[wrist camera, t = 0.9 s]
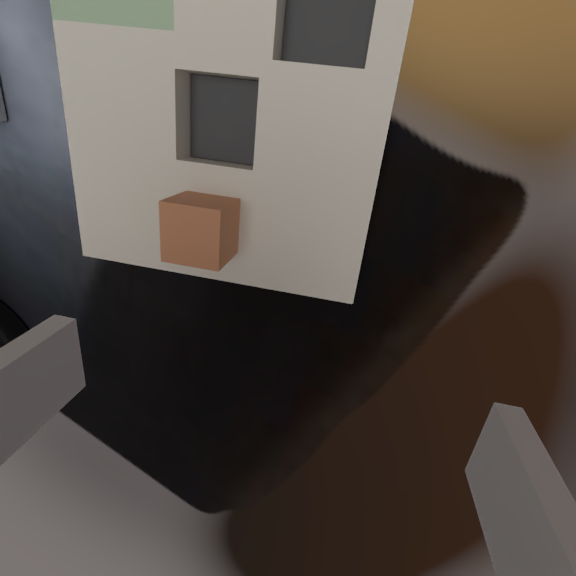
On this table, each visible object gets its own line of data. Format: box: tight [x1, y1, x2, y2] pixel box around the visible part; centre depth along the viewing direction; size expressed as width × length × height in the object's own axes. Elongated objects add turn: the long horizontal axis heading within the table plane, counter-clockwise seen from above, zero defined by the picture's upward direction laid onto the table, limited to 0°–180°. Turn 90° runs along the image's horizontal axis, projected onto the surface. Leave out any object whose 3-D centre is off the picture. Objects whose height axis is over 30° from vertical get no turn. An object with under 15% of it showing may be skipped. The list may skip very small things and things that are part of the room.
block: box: [159, 191, 241, 272], centre depth 25 cm, size 4×4×4 cm
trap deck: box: [50, 0, 414, 304], centre depth 25 cm, size 22×22×4 cm
